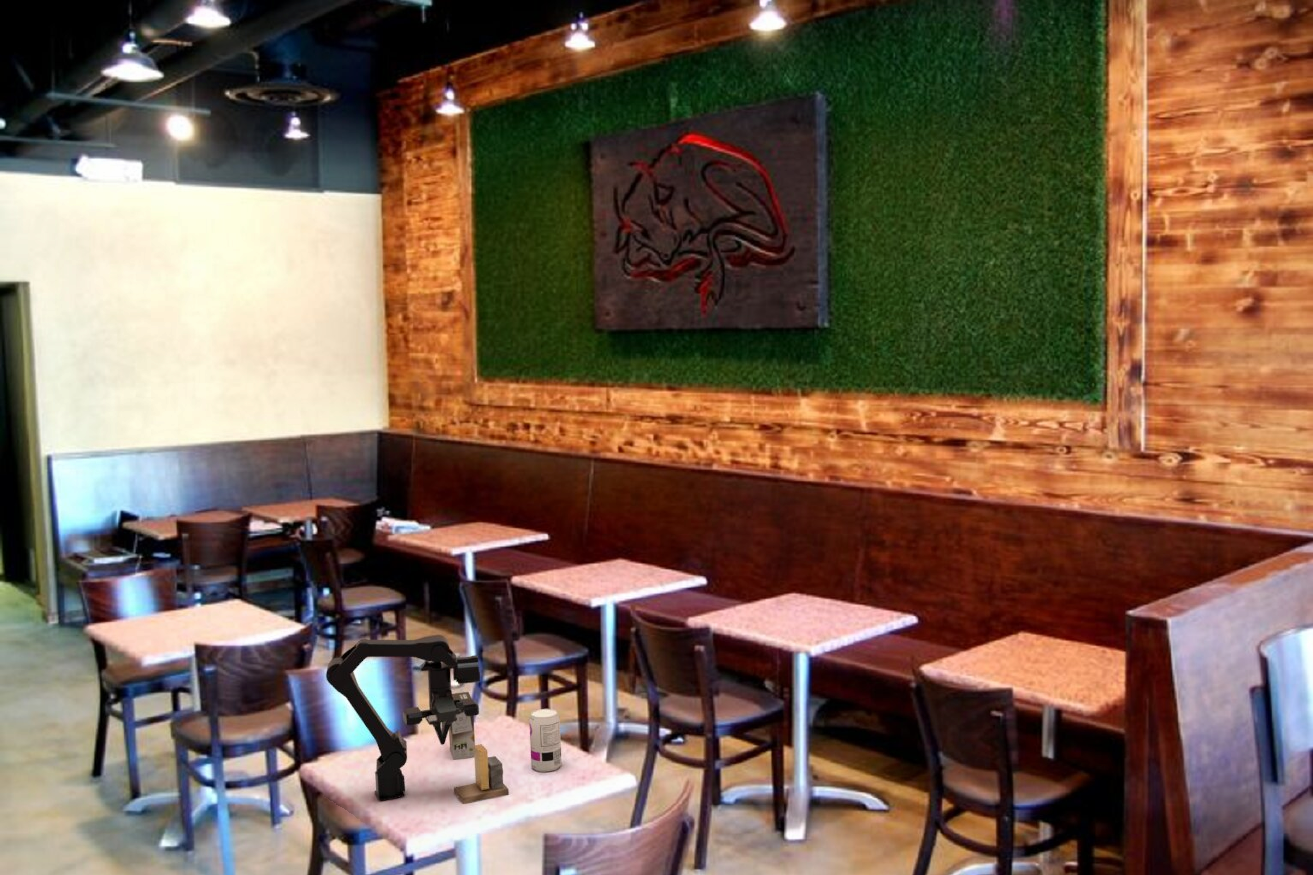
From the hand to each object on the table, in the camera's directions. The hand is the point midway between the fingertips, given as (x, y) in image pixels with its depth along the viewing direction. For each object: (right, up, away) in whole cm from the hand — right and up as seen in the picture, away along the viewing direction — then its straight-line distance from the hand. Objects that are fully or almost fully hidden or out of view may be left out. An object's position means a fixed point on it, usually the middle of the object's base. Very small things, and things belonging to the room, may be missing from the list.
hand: (442, 744), depth 308 cm
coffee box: (+1, -10, +27) cm, 28 cm away
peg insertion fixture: (+11, -12, -2) cm, 17 cm away
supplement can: (+26, -10, +14) cm, 31 cm away
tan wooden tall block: (+13, -10, -2) cm, 16 cm away
